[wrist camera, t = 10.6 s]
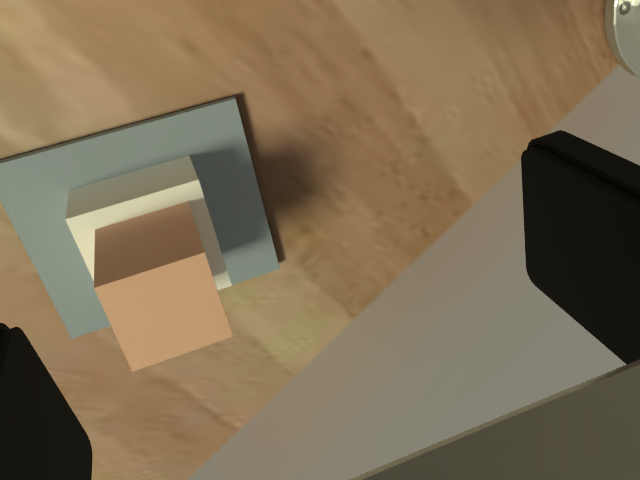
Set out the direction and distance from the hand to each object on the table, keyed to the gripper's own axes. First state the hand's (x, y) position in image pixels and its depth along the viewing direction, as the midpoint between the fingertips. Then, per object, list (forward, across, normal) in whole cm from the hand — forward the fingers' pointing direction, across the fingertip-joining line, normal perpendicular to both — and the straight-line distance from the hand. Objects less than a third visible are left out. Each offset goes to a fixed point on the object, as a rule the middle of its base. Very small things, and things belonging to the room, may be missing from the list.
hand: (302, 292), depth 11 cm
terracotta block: (+21, +5, +9) cm, 24 cm away
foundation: (+26, +5, +9) cm, 28 cm away
